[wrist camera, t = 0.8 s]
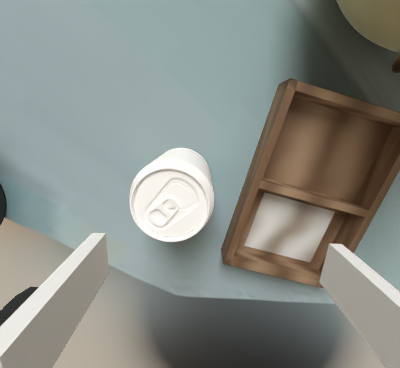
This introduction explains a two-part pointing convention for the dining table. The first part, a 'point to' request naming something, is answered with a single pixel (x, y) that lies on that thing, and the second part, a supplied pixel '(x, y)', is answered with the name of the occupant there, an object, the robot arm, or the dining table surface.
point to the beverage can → (173, 196)
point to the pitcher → (376, 22)
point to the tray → (312, 181)
